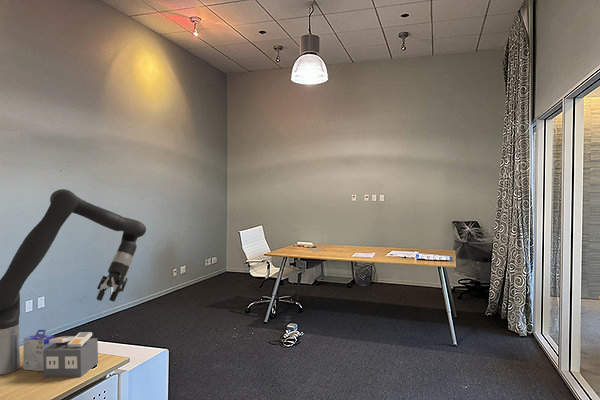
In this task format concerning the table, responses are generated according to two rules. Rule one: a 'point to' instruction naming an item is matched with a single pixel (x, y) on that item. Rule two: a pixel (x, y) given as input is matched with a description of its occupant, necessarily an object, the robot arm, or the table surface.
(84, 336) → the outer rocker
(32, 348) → the ink cartridge box
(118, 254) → the robot arm
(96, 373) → the table surface
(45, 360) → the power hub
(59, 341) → the inner rocker
